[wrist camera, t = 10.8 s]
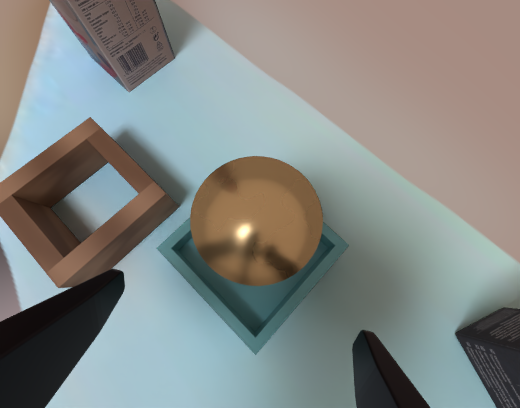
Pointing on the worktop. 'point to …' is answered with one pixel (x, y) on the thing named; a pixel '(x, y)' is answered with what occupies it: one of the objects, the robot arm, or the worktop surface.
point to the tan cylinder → (256, 221)
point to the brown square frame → (62, 183)
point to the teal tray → (250, 297)
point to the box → (496, 354)
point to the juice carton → (120, 36)
